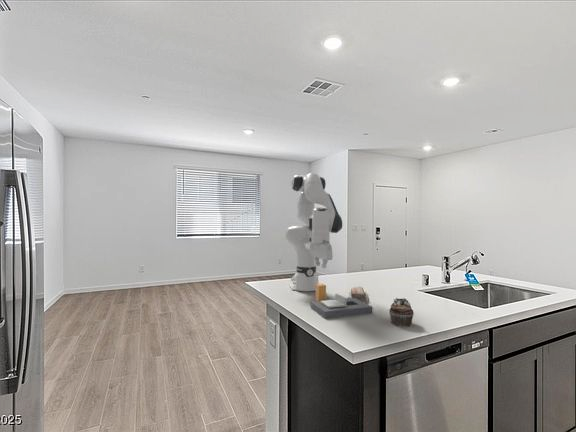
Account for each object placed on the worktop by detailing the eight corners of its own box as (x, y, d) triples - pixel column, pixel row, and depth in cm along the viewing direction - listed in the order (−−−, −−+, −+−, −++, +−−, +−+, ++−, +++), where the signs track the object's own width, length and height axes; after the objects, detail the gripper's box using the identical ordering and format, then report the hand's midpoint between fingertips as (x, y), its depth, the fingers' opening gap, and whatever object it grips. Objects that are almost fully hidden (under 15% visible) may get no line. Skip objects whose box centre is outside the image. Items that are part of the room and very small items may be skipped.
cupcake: (385, 319, 130) (385, 296, 130) (407, 319, 130) (407, 296, 130) (394, 327, 120) (394, 302, 120) (418, 327, 121) (418, 302, 121)
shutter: (320, 302, 144) (320, 295, 144) (337, 300, 147) (337, 293, 147) (328, 307, 136) (328, 299, 136) (346, 306, 138) (346, 298, 138)
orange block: (315, 303, 154) (315, 284, 154) (322, 303, 155) (322, 283, 155) (318, 306, 150) (318, 285, 150) (326, 305, 151) (326, 285, 151)
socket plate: (310, 308, 146) (310, 301, 146) (354, 303, 154) (354, 297, 154) (324, 318, 131) (324, 311, 131) (372, 313, 138) (372, 306, 138)
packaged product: (368, 294, 156) (349, 293, 158) (368, 303, 156) (349, 302, 158) (366, 286, 174) (348, 285, 176) (366, 294, 174) (348, 293, 176)
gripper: (335, 240, 143) (335, 269, 143) (318, 238, 163) (318, 263, 163) (323, 241, 142) (323, 270, 141) (307, 238, 161) (307, 264, 161)
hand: (320, 266), depth 152 cm, fingers open, 6 cm apart
